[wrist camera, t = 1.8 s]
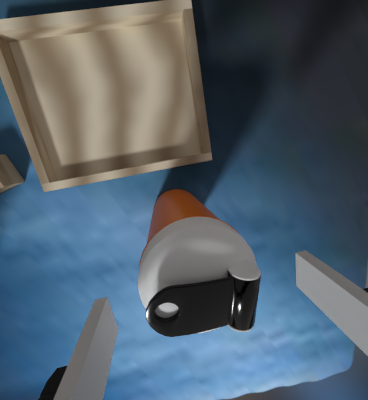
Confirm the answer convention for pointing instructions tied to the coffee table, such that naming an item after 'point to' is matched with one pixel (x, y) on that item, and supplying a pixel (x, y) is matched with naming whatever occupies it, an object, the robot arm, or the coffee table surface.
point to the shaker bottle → (196, 270)
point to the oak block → (8, 174)
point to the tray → (106, 91)
